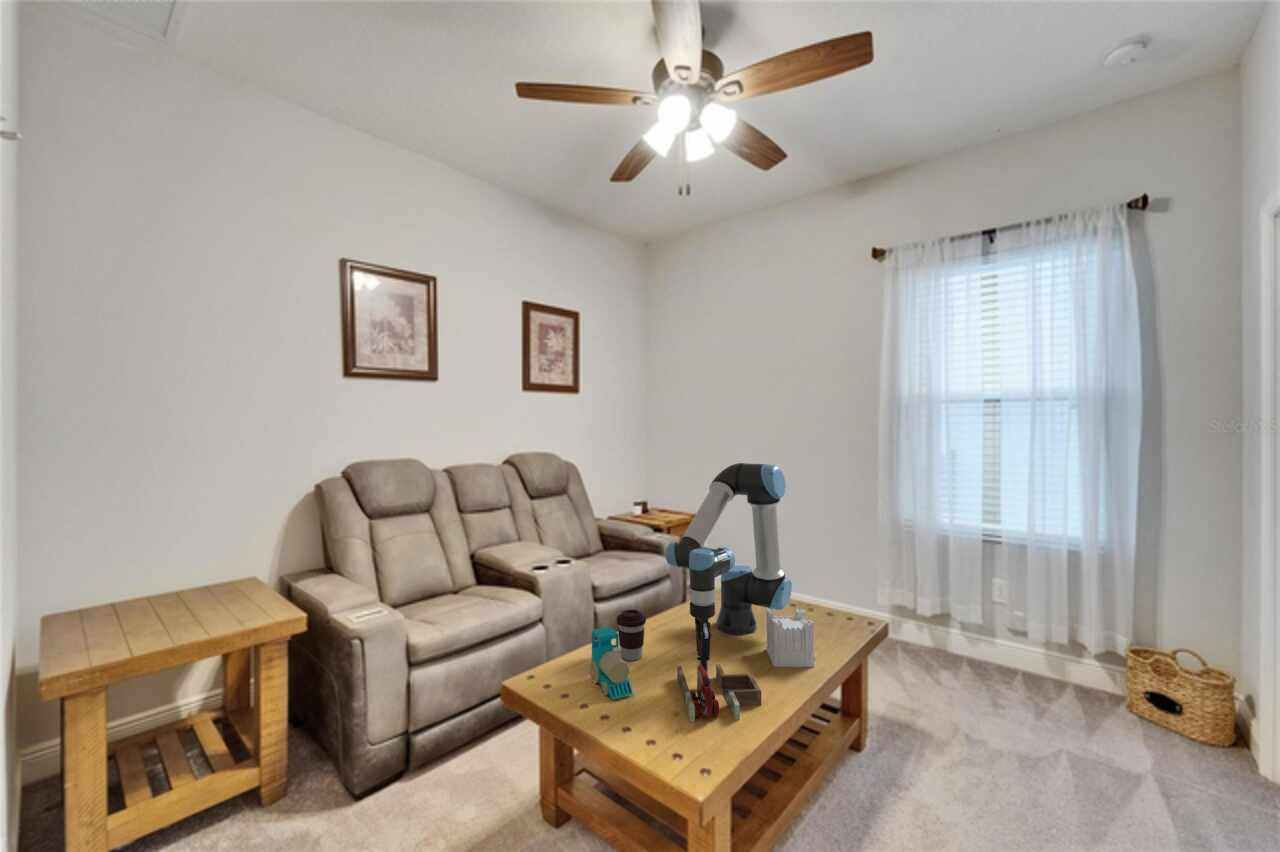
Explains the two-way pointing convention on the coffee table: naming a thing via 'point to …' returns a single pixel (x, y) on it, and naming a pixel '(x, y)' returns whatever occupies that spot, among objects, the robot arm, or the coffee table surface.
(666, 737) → the coffee table surface
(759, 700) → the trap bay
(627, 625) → the coffee cup
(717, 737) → the coffee table surface
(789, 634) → the castle model
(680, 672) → the channel
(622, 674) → the toy train
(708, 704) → the toy fire truck
